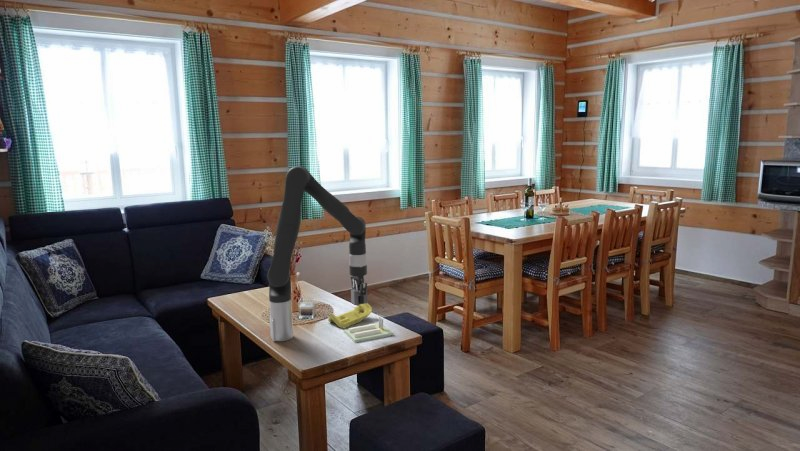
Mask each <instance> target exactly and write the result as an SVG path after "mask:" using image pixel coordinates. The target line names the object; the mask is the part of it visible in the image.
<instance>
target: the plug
mask: <svg viewBox="0 0 800 451" xmlns="http://www.w3.org/2000/svg"><path fill="white" fill-rule="evenodd" d="M350 302H351V304H352V305H354V306H359V305H360V304H359V302H358V291H357V290H356V289H352V288H351V289H350ZM365 303H368V304H369V301H368V289H366V295H364V303H363V304H365Z"/></svg>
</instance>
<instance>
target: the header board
mask: <svg viewBox="0 0 800 451" xmlns="http://www.w3.org/2000/svg"><path fill="white" fill-rule="evenodd" d="M347 328H348V327H347ZM343 332H344V334H345V335H347V337H349V339H350V340H352V341H353V343H359V342H365V341H370V340H375V339H381V338H386V337H390V336H391V335H392V336H394V331H392V330H391V329H390V328H388V327H387V326H386V325H384V318H382V317H381V316H378V323H376V324H374V323H371V324H370V323H369V324H364V325H359V326H354V327H349V328H348V329H344V331H343Z"/></svg>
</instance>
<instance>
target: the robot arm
mask: <svg viewBox="0 0 800 451" xmlns="http://www.w3.org/2000/svg"><path fill="white" fill-rule="evenodd" d="M284 187H285V188H284V194H283V195H284V196H283V201H282V204H281V207H280V211H279V215H278V220H277V223H276V228H275V229H276V230H275V236H274V246H273V247H274V249H273V256H272V259H271V262H270V264H269V265H270V266H269V269H268V271H267V274H266V277H267V281H268V287H269V288H268V291H269V292H268V300H269V314H270V315H269V318H268V319H269V334H270V338H271V340H272V341H273V342H285V341H290V340H291V339H293V338H294V326H293V322H294V321H293V307H292V306H293V305H292V281H291V280H292V279H291V275H292V274H291V268H290V266H291V258H292V254H293V252H294V249H295V247H296V243H297V240H298V235H299V231H300V227H301V220H302V200H303V197H304V194H305V193H306V194H308V195H309V196H311V197H312V198H313V199H314V201H316V202H317V204H319V206H320V207H321V208H322V209H323V210H324V211H325V212H326V213H327V214H329V216H331V217H333V218H334V219H335V220H336V221H337V222H338V223H340V224H341V226H342V227H343V228H344V229H345V230H346V231H347V232H348V233H349V239H350V240H349V243H348V245H349V246H348V248H349V249H348V250H349V252H348V254H349V256H348V267H349V268H348V269H349V275H350V283H351V289H356V290H357V291H358V302H359V305H360V304H363V303H364V295H366V289H367V288H368V287H367V286H368V282H365V278H364V276H366V275H367V274H368V261H367V260H368V259H367V249H366V248H367V247H366V246H367V245H366V233H367V232H366V226H367V225H366V221H365V219H364V218H362V217H361V216H355V214H353V213H352V212H351V210H350V209H349V207H348V206H347V205H345V204H344V203H343V202H342V201H341V200H339V199H338V198H337V197H336V196H334V195H333V194H332V193H330V191H328V190H327V189H326V188H325V187H323V185H321V184H320V182H318V181H317V180H316V178H314V175H312V173H311V172H310V171H309V170H308V169H307V168H306V167H304V166H299V165H298V166H297V165H296V166H293V167H291V168H290V169H288V171H287V172H286V175H285V184H284ZM367 290H368V289H367Z"/></svg>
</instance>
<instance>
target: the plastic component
mask: <svg viewBox="0 0 800 451" xmlns="http://www.w3.org/2000/svg"><path fill="white" fill-rule="evenodd" d="M372 311H373V307H372V306H371V305H370V304H369V302H368V303H365V304H359V305H356V306H355V307H354V308H353V309H352V310H349V311H346V312H344V313H342V314H341V313H340V314H338V315H335V313H330V315H329V317H328V319H327V320H328V322H329V323H330V324H331V323H335V325H336V326H338V328H341V329H345V328H348V327H350V326H352V325H355V324H358V323H360V322H362V320H364V319H366V318H367V317H369V316H370V315H371V314H372Z"/></svg>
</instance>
